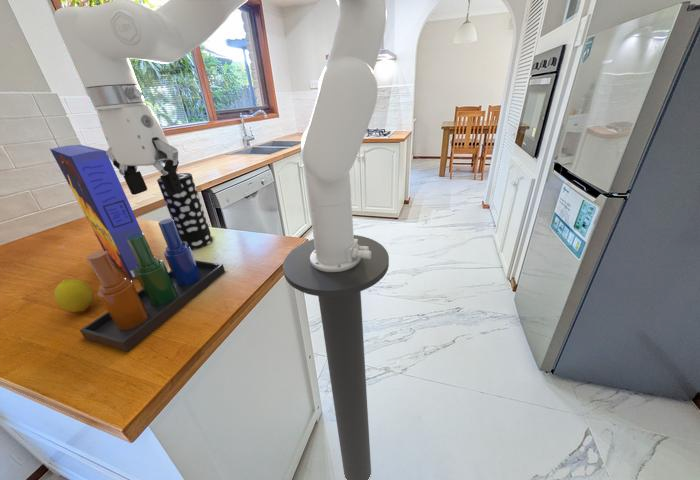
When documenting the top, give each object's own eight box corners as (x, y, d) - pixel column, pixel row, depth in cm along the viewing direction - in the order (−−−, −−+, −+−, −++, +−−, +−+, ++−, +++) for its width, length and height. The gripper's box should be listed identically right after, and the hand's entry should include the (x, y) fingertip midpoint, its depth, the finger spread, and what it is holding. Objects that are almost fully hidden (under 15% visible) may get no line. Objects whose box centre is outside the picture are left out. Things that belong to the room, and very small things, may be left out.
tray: (225, 272, 71) (222, 264, 70) (128, 352, 50) (122, 342, 49) (190, 266, 75) (187, 259, 74) (85, 339, 54) (79, 330, 53)
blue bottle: (205, 274, 69) (184, 217, 62) (188, 287, 65) (164, 227, 58) (188, 272, 71) (166, 215, 64) (171, 284, 67) (145, 225, 60)
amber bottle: (154, 314, 58) (122, 248, 51) (130, 333, 53) (91, 264, 46) (136, 309, 59) (102, 245, 52) (110, 327, 55) (70, 260, 48)
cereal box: (106, 254, 84) (49, 147, 70) (129, 246, 88) (80, 143, 74) (132, 279, 71) (69, 155, 57) (158, 268, 75) (105, 149, 61)
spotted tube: (175, 248, 84) (149, 181, 75) (196, 235, 91) (174, 172, 82) (199, 250, 82) (174, 182, 73) (218, 237, 89) (198, 173, 80)
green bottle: (182, 292, 63) (157, 231, 56) (162, 308, 59) (132, 244, 52) (164, 289, 65) (137, 229, 58) (144, 303, 61) (112, 241, 54)
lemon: (92, 299, 65) (74, 269, 61) (105, 306, 62) (87, 275, 58) (62, 315, 60) (40, 284, 57) (74, 323, 58) (53, 291, 54)
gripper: (173, 93, 50) (204, 187, 58) (106, 101, 56) (143, 186, 64) (133, 96, 44) (174, 201, 52) (62, 104, 50) (109, 198, 58)
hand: (157, 193), depth 58 cm, fingers open, 9 cm apart
